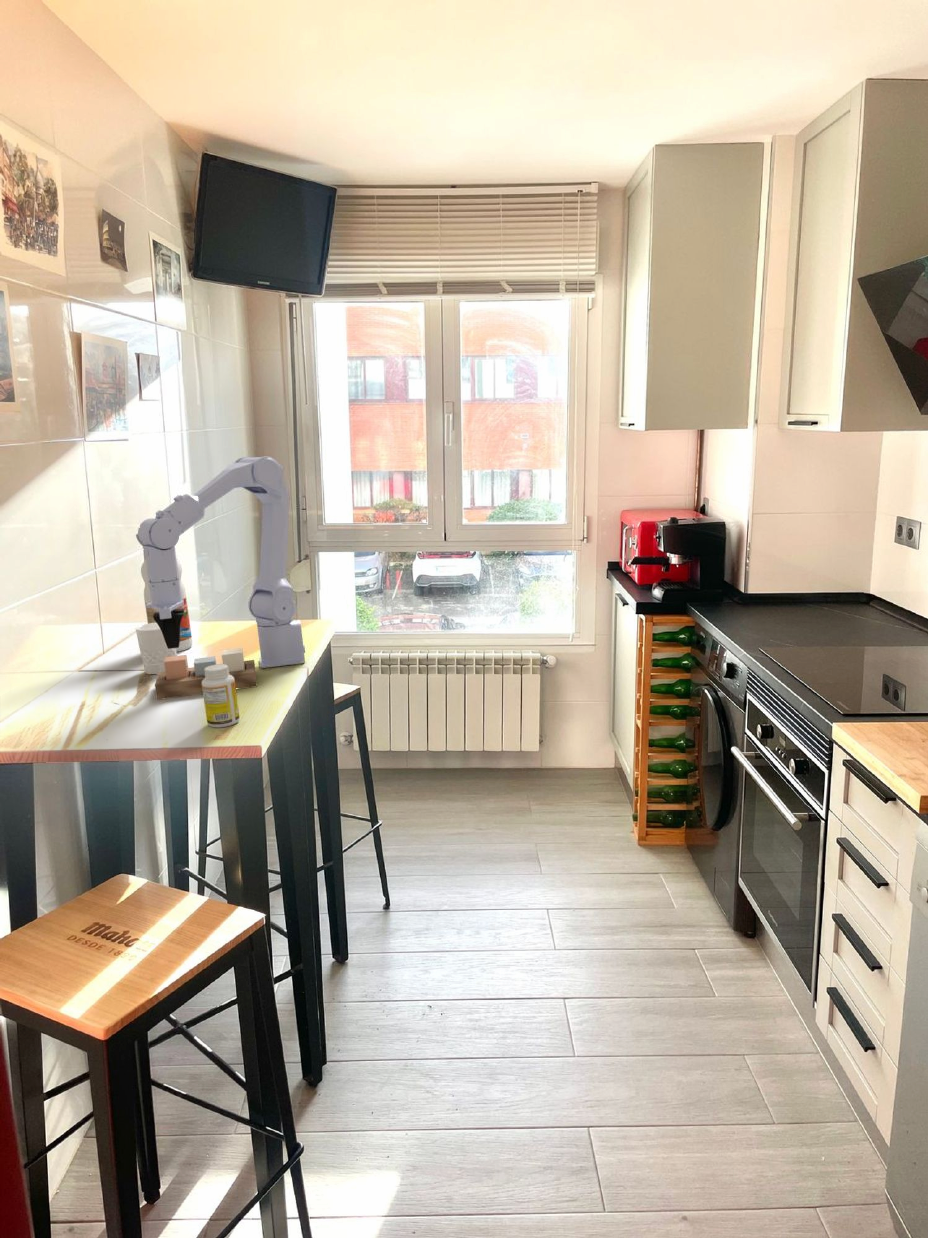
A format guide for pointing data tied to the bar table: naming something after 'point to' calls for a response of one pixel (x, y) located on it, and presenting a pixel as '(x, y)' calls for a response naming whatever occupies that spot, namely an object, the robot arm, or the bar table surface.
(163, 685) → the wooden tray
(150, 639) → the white cup
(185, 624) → the fruit juice
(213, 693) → the supplement bottle
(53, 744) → the bar table surface
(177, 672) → the salmon orange cube
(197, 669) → the light blue cube
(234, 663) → the off-white cube
